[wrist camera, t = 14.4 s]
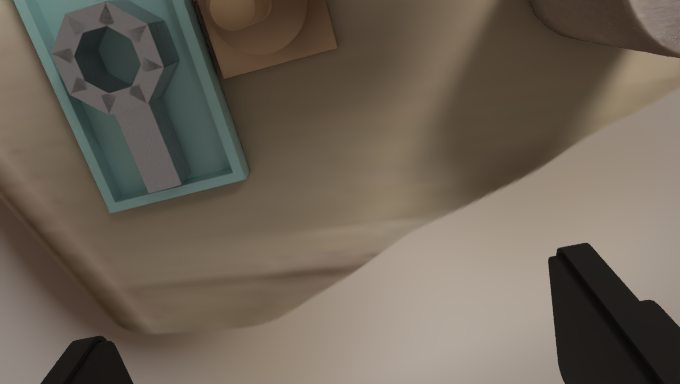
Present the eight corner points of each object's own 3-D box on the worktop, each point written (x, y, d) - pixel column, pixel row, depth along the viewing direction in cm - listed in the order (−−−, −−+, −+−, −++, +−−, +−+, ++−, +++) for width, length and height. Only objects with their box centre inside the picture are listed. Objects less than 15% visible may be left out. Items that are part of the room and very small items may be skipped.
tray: (9, -46, 35) (-9, -48, 33) (160, -93, 34) (149, -97, 32) (120, 203, 41) (110, 213, 39) (250, 171, 40) (245, 179, 38)
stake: (186, -45, 35) (119, -58, 24) (305, -81, 34) (287, -109, 24) (226, 76, 37) (181, 111, 27) (337, 46, 37) (334, 70, 26)
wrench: (64, 19, 36) (36, 22, 32) (154, -9, 35) (134, -8, 32) (137, 185, 40) (119, 203, 37) (218, 163, 39) (207, 179, 36)
